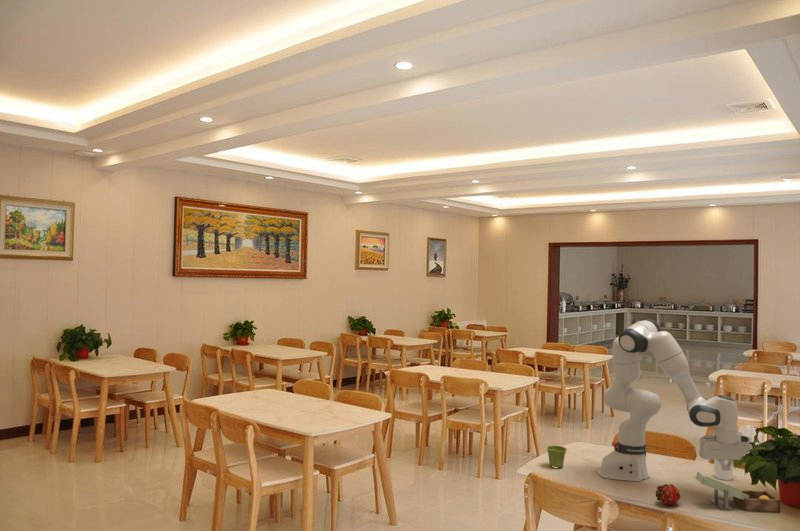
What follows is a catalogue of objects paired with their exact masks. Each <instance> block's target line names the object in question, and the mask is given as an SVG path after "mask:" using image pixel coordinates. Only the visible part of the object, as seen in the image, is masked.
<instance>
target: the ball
mask: <svg viewBox="0 0 800 531" xmlns="http://www.w3.org/2000/svg"><path fill="white" fill-rule="evenodd" d="M759 499H769V497H767V496H765V495H762V496H760V497H759Z"/></svg>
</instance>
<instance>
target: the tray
mask: <svg viewBox="0 0 800 531" xmlns="http://www.w3.org/2000/svg"><path fill="white" fill-rule="evenodd" d="M741 490H742V489H741ZM742 493H744V494H746V495H749V499H746V498H744V500H742V499H739V498H737V497H734V496H732V502H733V503H734V504H736V505H737V506H739V507H740V509H742V510H743V511H745V512H760V513H761V512H763V513H764V512H765V513H767V512H768V513H781V499H779V498H777V497H775V496H774V495H773V494H771V493H770V492H768V491H767V490H742ZM762 495H765V496H767V497H769V499H759V497H760V496H762Z"/></svg>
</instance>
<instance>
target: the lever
mask: <svg viewBox="0 0 800 531" xmlns="http://www.w3.org/2000/svg"><path fill="white" fill-rule="evenodd" d="M694 478H695V479H696V481H697V482H699V483H700V484H701V485H703V486H707V487H709V488H711V489H713V490H714V489H716V490H718V492H721V493H724V490H727V491H728V496H731V497H733V496H734V497H737V498H739V499H742V500H744V498H746V499H749V495H746V494H744V493H742V489H740V488H737V487H734V486H731V485H729V484H726V483H724V482H721V481H719V480H717V479H713V478H712V477H709V476H706V475H703V474H702V473H701V472H699V471H697V473H696V475H695V477H694Z"/></svg>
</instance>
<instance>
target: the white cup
mask: <svg viewBox="0 0 800 531" xmlns="http://www.w3.org/2000/svg"><path fill="white" fill-rule="evenodd" d="M713 462H714V463H713V465H714V476H715V477H714V478H716V479H719V480H722V481H732V480H733V476H734V463H733V464H732V465H731V470H722V469H721V464H720V463H719V461H718V459H713ZM723 463H724V465H727V463H728V460H724V462H723Z"/></svg>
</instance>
